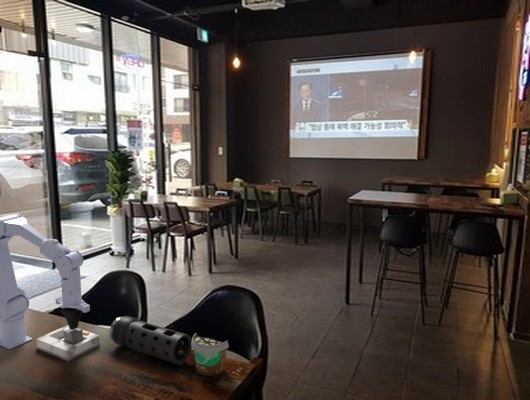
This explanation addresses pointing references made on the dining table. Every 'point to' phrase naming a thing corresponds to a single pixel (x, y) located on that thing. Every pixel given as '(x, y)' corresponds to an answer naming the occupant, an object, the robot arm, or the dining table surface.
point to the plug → (73, 336)
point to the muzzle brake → (151, 339)
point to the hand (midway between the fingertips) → (73, 328)
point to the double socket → (66, 344)
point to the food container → (209, 355)
